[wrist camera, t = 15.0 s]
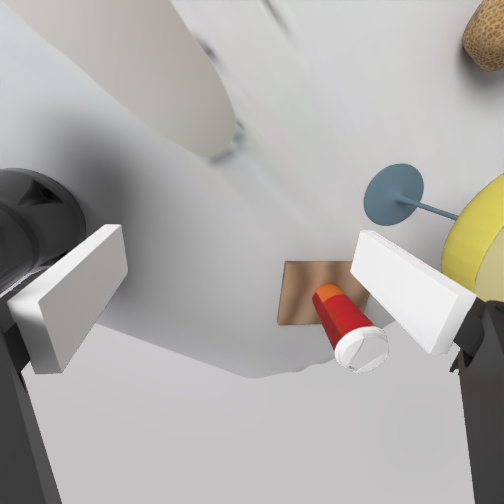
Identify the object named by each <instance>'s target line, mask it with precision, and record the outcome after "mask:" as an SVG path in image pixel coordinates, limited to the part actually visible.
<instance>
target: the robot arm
mask: <svg viewBox="0 0 504 504" xmlns="http://www.w3.org/2000/svg"><path fill="white" fill-rule="evenodd" d="M85 233H86V225H85V220H84V216H83V213H82V211H81V209H80V207H79V205H78V203H77V202H76V201H75V199H74V198H73V197H72V195H71V194H70V193H69V192H68V191H67V190H66V189H65V188H63V187H62V186H61V185H60V184H58V183H57V182H55V181H54V180H52V179H51V178H49V177H47V176H45V175H43V174H40V173H38V172H35V171H31V170H27V169H21V168H6V169H0V294H1V293H2V292H3V291H5V290H6V289H8V288H9V287H10V286H12V285H13V284H14V283H15V282H17V281H18V280H19V279H21V278H22V277H23V276H25V275H26V274H27V273H31V272H34V271H38V270H41V271H39V272H37V273H34V274H32V275H30V276H29V277H28V278H26V279H25V280H24V281H22V282H21V284H18V285H17V286H16V287H14V288H13V289H12V291H9V292H8V293H7V294H5V295H4V296H2V297H1V298H0V504H62V502H61V499H60V495H59V492H58V489H57V485H56V482H55V479H54V476H53V473H52V469H51V466H50V463H49V459H48V456H47V453H46V449H45V446H44V443H43V440H42V436H41V433H40V430H39V427H38V424H37V420H36V417H35V413H34V410H33V407H32V404H31V400H30V397H29V394H28V391H27V387H26V384H25V381H24V378H23V376H22V374H21V371H22V370H23V368H24V367H25V366H26V364H27V363H28V362H29V361H30V362H31V365H32V367H33V369H34V372H35V374H53V373H62V372H63V371H64V369H65V368H66V366H67V365H68V363H69V362H70V360H71V358H72V357H73V355H74V354H75V352H76V351H77V349H78V348H79V346H80V345H81V343H82V342H83V340H84V339H85V337H86V336H87V334H88V333H89V331H90V330H91V328H92V326H93V325H94V324H95V322H96V320H97V319H98V317H99V316H100V314H101V313H102V311H103V310H104V308H105V307H106V305H107V304H108V302H109V301H110V299H111V298H112V296H113V295H114V293H115V292H116V290H117V289H118V287H119V285H120V284H121V282H122V281H123V279H124V278H125V276H126V275H127V273H128V266H127V259H126V253H125V246H124V240H123V233H122V227H121V225H117V224H105V225H104V226H102V227H101V228H100V229H98V230H97V231H96V232H95V233H93V234H92V235H91V236H90V237H88V238H87V239H86V240H85V241H84V238H85ZM42 269H43V270H42ZM350 272H351V274H352V275H353V276H354V277H355V278H356V279H357V280H358V281H359V282H360V283H361V284H362V285H363V286H364V287H365V288H366V289H367V290H368V291H369V292H370V293H371V294H372V295H373V296H374V298H375V299H376V300H377V301H378V302H379V303H380V304H381V305H382V306H383V307H384V308H385V309H386V310H387V311H388V312H389V313H390V314H391V315H392V316H393V317H394V318H395V319H396V321H397V322H398V323H399V324H400V325H401V326H402V327H403V328H404V329H405V330H406V331H407V332H408V333H409V334H410V335H411V336H412V337H413V338H414V339H415V340H416V341H417V342H418V343H419V344H420V345H421V346H422V348H423V349H424V350H425V351H426V352H427V353H428V354H429V355H440V354H447V353H448V351H449V349H450V347H451V345H452V343H453V342H455V343H456V344H457V345H458V346H459V347H460V348H461V349H460V351H459V353H458V355H457V357H456V359H455V360H454V362H453V364H452V366H451V368H450V372H453V371H454V370H455V369H458V368H459V373H458V375H459V376H460V385H461V393H462V401H463V409H464V417H465V425H466V433H467V442H468V450H469V458H470V466H471V474H472V482H473V491H474V499H475V504H504V302H501V301H497V300H489V301H486V302H484V301H483V300H481V299H480V298H478V297H477V295H476V294H474V293H472V292H471V291H469V290H468V289H466V288H464V287H463V286H461V285H459V284H458V283H456V282H455V281H453V280H451V279H450V278H448V277H447V276H445V275H443V274H442V273H440V272H439V271H437V270H435V269H434V268H432V267H431V266H429V265H427V264H426V263H424V262H422V261H421V260H419V259H418V258H416V257H414V256H413V255H411V254H410V253H408V252H406V251H405V250H403V249H402V248H400V247H398V246H397V245H395V244H394V243H392V242H390V241H389V240H387V239H385V238H384V237H382V236H381V235H379V234H377V233H376V232H374V231H364V230H361V231H360V235H359V239H358V243H357V247H356V251H355V255H354V259H353V262H352V266H351V270H350Z"/></svg>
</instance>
